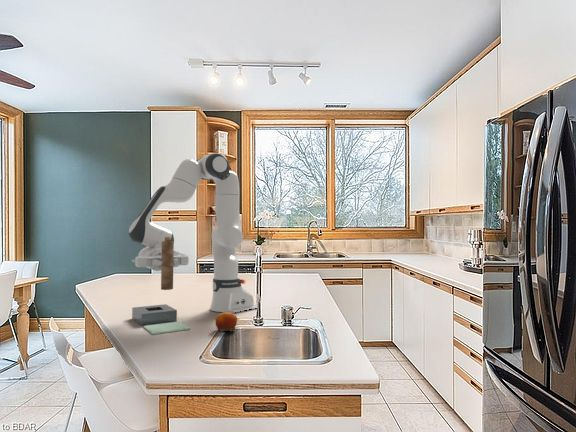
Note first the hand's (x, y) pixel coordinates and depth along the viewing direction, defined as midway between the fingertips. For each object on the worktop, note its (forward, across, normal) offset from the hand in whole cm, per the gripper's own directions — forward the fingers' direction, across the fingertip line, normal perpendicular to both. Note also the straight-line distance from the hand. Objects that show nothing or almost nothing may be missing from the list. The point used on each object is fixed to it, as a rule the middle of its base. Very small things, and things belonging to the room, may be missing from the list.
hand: (168, 262), depth 161 cm
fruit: (+13, +18, +25) cm, 34 cm away
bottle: (-1, 0, +10) cm, 10 cm away
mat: (-1, 0, +25) cm, 25 cm away
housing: (-17, 0, +25) cm, 30 cm away
